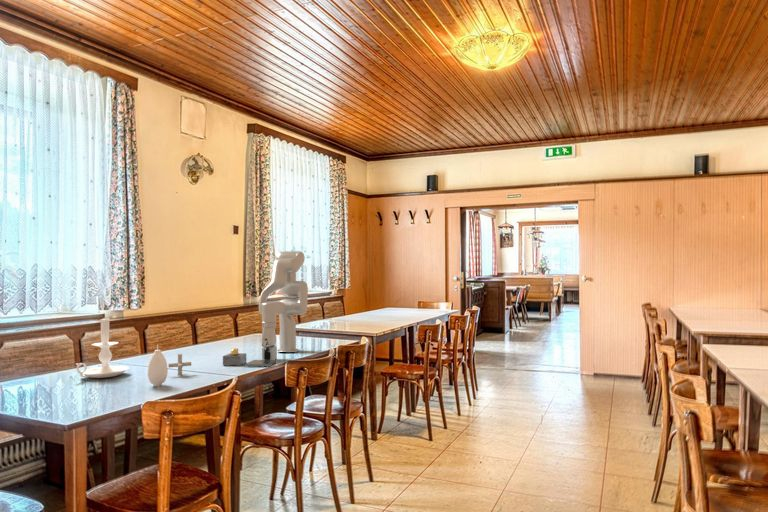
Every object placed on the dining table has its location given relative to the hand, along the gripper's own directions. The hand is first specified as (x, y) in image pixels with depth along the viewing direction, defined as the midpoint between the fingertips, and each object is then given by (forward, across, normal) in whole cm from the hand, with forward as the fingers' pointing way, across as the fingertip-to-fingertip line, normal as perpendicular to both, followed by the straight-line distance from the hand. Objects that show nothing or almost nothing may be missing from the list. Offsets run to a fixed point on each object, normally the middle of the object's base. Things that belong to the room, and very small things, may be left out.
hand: (269, 358), depth 282 cm
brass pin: (-2, +12, -15) cm, 19 cm away
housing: (+1, 0, 0) cm, 1 cm away
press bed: (+1, +13, 0) cm, 13 cm away
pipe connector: (+1, +41, -29) cm, 50 cm away
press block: (+1, +12, -14) cm, 19 cm away
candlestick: (+1, +47, -65) cm, 80 cm away
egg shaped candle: (+1, +63, -27) cm, 69 cm away
